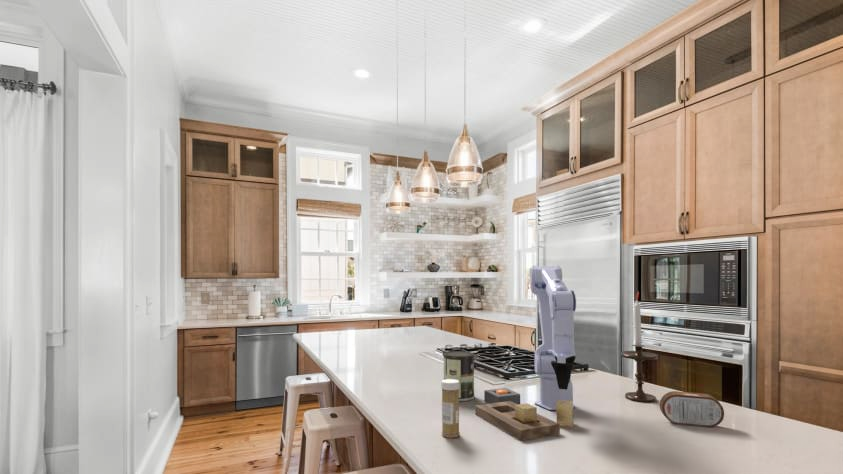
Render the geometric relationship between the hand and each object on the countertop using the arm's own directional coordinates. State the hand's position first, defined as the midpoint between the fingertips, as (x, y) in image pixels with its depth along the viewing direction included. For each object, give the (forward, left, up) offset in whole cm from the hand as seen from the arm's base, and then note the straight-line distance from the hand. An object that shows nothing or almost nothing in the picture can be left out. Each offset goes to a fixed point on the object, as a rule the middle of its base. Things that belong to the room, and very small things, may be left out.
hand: (564, 385), depth 120 cm
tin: (-32, +13, -11) cm, 36 cm away
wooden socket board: (+12, -6, -10) cm, 17 cm away
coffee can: (+14, -35, -11) cm, 39 cm away
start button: (+5, -23, -9) cm, 25 cm away
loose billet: (0, 0, -10) cm, 10 cm away
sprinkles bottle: (+32, -5, -10) cm, 34 cm away
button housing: (+5, -23, -10) cm, 26 cm away
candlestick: (-40, -11, -10) cm, 43 cm away
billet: (+12, -1, -10) cm, 16 cm away
